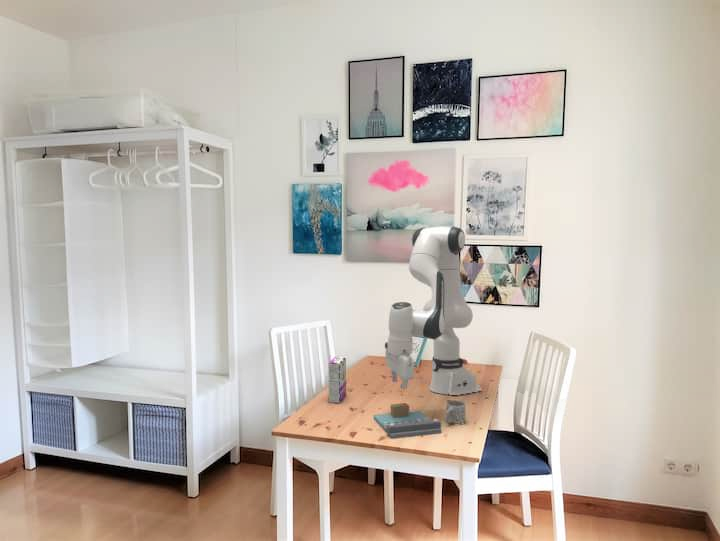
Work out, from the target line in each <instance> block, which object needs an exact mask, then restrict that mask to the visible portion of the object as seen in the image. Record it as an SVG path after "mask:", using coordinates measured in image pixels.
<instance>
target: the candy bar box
mask: <svg viewBox="0 0 720 541" xmlns="http://www.w3.org/2000/svg"><path fill="white" fill-rule="evenodd" d="M346 396H347V358H346V356H338V355H337V356H334V357H333V358H332V359H331V360H330V361H329V362H328V403H330V404H341V403H342V401H343V400H344V399H345V397H346Z"/></svg>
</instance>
